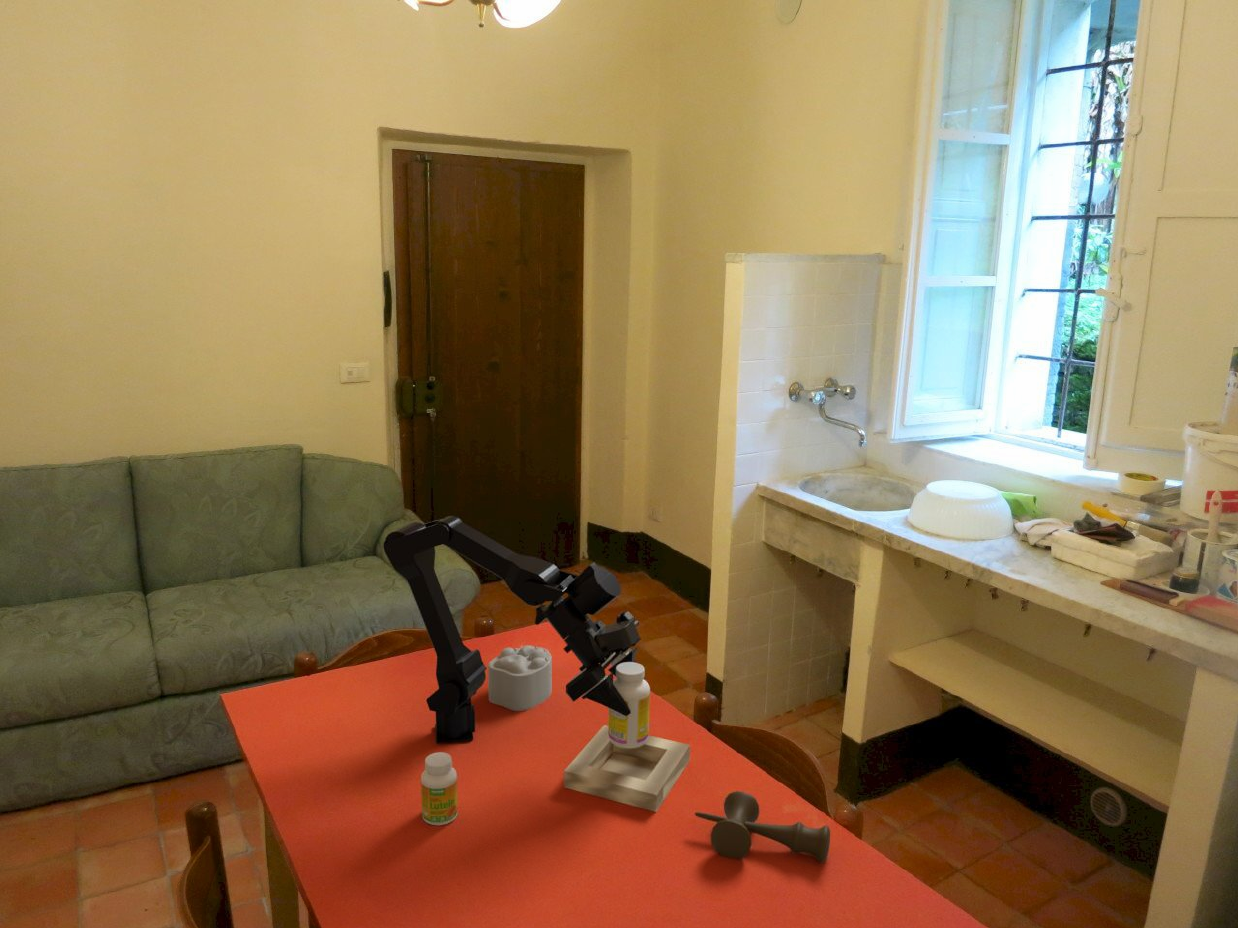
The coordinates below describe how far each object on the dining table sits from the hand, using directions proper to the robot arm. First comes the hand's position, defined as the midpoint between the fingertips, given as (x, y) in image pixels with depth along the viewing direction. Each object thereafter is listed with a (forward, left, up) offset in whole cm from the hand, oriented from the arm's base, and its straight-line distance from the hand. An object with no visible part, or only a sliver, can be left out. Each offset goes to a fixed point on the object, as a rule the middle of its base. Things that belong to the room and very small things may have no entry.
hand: (636, 704), depth 151 cm
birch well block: (-1, +1, -13) cm, 13 cm away
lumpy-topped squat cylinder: (-15, +32, -13) cm, 38 cm away
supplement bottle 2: (-1, +1, -7) cm, 7 cm away
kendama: (+14, -21, -13) cm, 29 cm away
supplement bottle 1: (-32, -5, -13) cm, 35 cm away
